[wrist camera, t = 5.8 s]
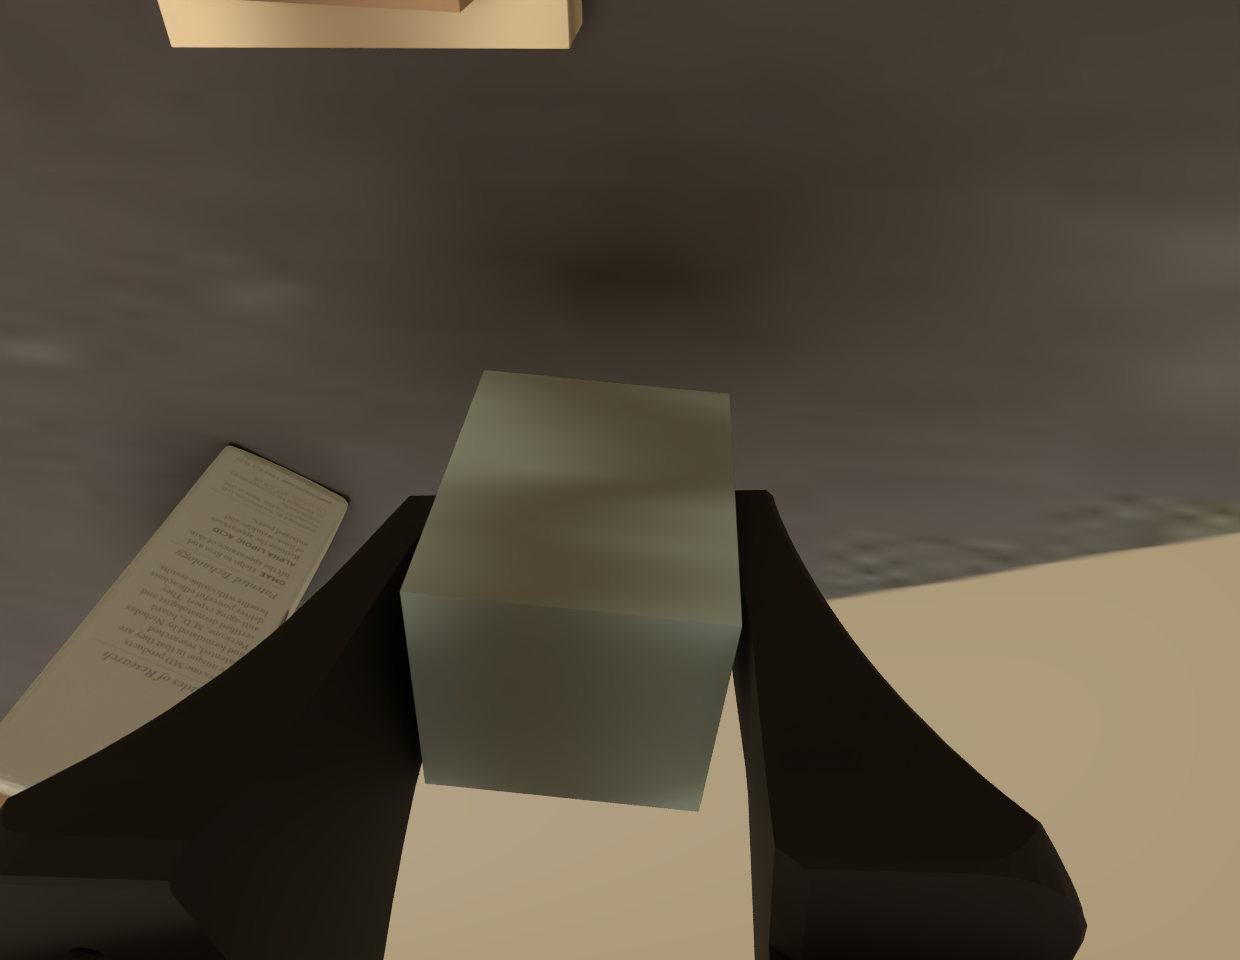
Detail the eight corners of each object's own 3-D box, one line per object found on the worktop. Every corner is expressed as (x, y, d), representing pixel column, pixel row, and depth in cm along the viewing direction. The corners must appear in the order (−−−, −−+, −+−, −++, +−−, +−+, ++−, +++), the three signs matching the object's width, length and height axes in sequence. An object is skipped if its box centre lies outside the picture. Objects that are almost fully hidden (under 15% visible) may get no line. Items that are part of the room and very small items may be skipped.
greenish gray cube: (729, 394, 14) (742, 625, 10) (698, 569, 16) (698, 811, 12) (484, 369, 14) (399, 591, 10) (490, 549, 16) (425, 783, 12)
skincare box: (300, 602, 31) (122, 955, 21) (176, 549, 30) (-71, 900, 20) (357, 492, 27) (176, 855, 18) (219, 428, 26) (-54, 782, 17)
